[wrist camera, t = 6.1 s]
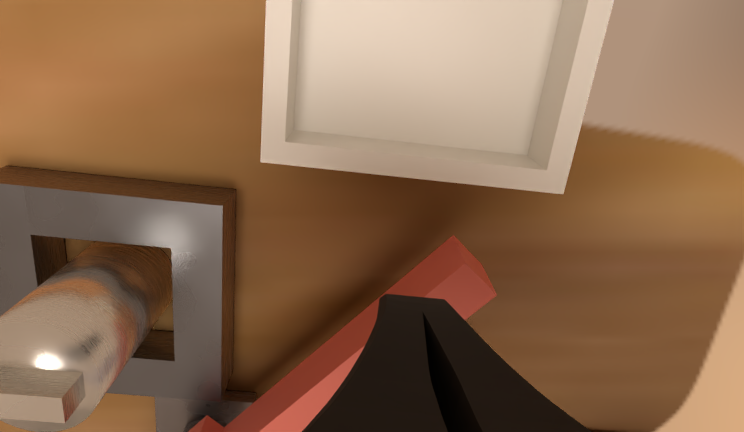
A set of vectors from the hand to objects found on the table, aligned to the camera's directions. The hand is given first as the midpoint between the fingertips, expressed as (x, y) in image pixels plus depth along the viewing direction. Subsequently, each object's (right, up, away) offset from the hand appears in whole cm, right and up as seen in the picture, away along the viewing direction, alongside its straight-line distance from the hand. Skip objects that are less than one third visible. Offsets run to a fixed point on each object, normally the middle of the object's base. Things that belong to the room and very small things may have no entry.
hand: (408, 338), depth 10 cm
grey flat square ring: (-10, 0, +9) cm, 13 cm away
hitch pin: (-10, 0, +9) cm, 13 cm away
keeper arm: (-2, -3, +7) cm, 8 cm away
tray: (+1, +9, +6) cm, 11 cm away
